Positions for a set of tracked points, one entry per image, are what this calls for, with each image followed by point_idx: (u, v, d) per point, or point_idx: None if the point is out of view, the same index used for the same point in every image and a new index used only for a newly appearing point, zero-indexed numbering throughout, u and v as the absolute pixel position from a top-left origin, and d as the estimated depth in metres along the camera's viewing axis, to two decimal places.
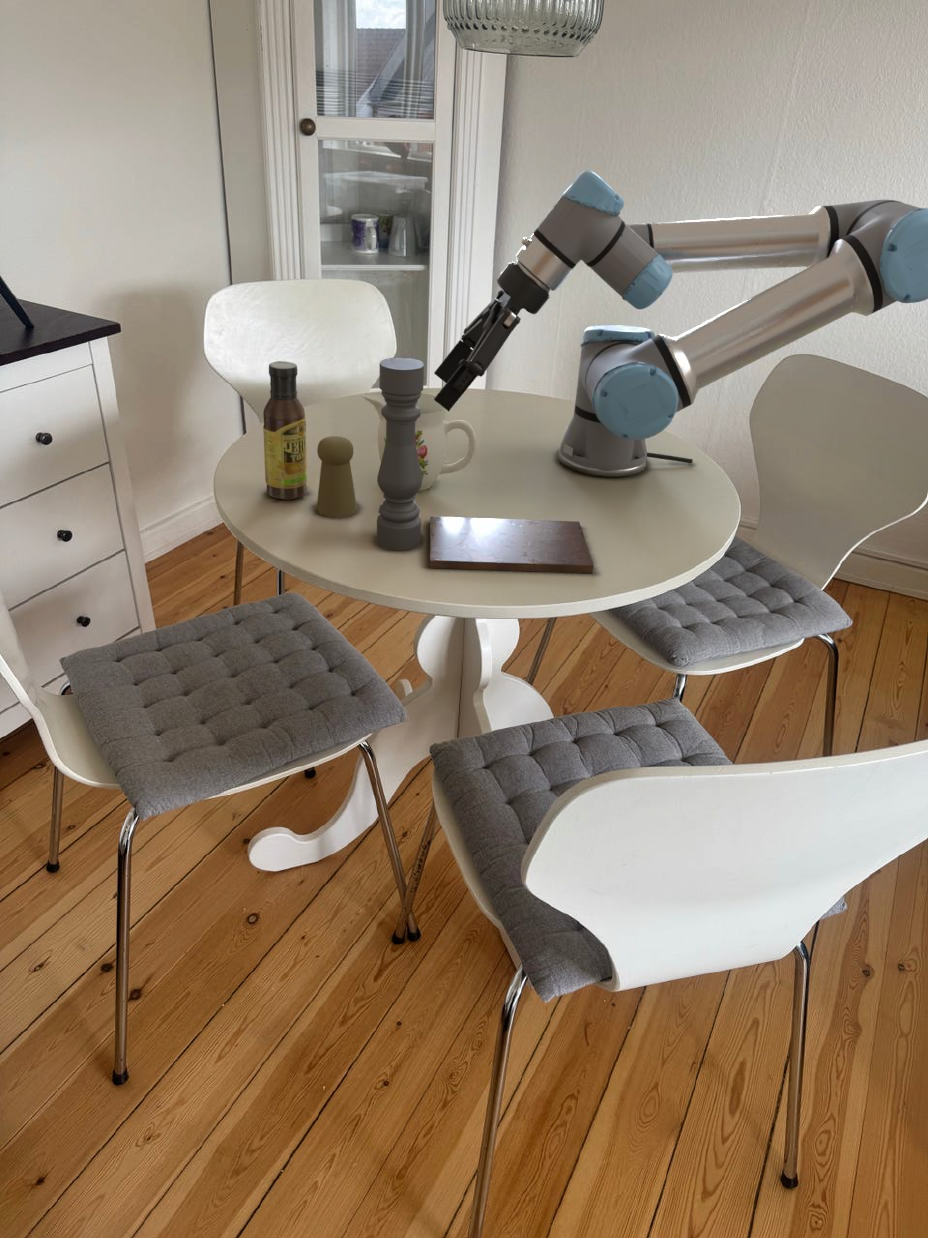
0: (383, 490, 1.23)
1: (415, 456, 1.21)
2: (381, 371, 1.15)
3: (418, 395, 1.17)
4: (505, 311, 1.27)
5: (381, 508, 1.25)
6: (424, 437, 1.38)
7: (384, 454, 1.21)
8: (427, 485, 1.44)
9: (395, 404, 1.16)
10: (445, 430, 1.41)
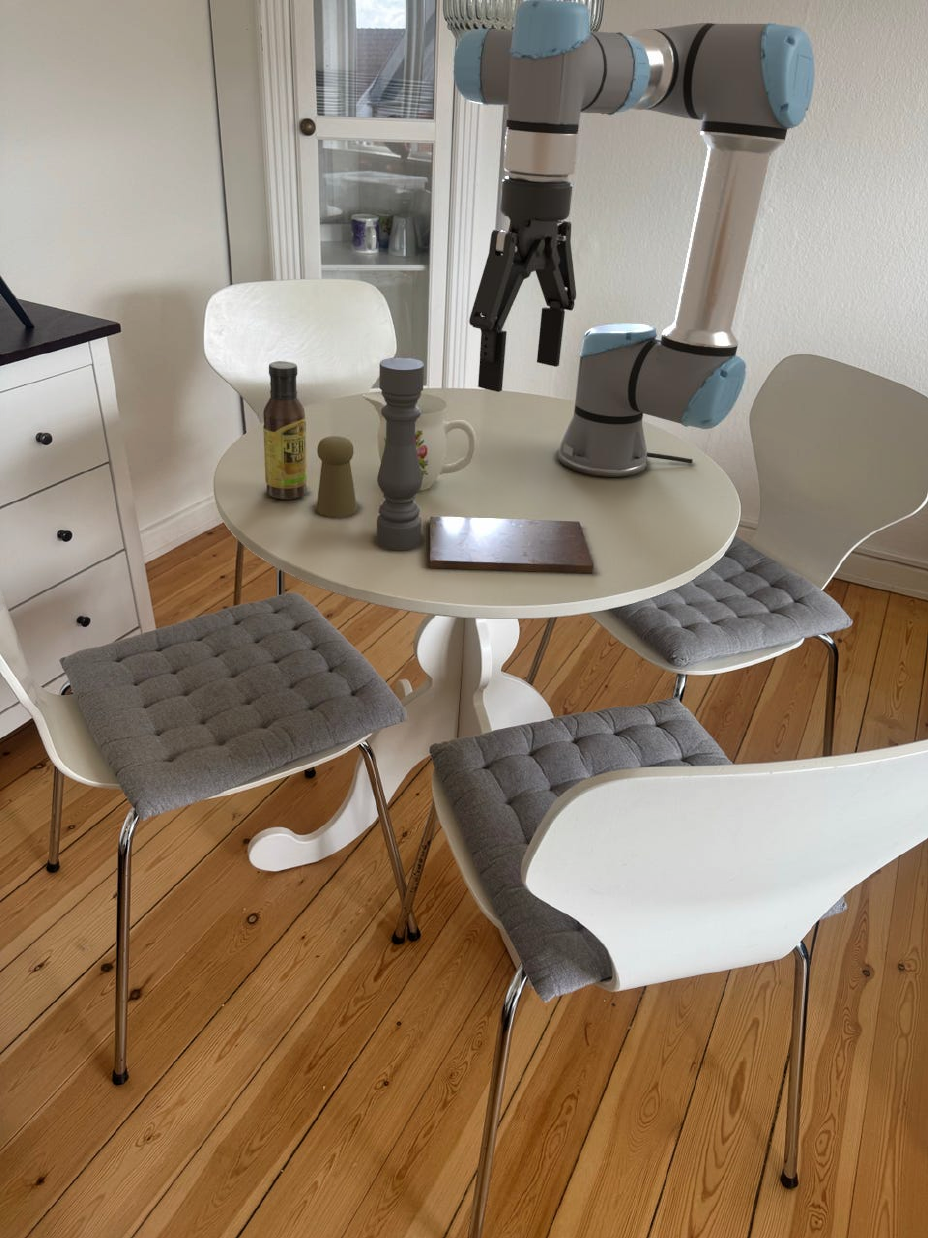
0: (383, 490, 1.23)
1: (415, 456, 1.21)
2: (381, 371, 1.15)
3: (418, 395, 1.17)
4: None
5: (381, 508, 1.25)
6: (424, 437, 1.38)
7: (384, 454, 1.21)
8: (427, 485, 1.44)
9: (394, 404, 1.16)
10: (445, 430, 1.41)
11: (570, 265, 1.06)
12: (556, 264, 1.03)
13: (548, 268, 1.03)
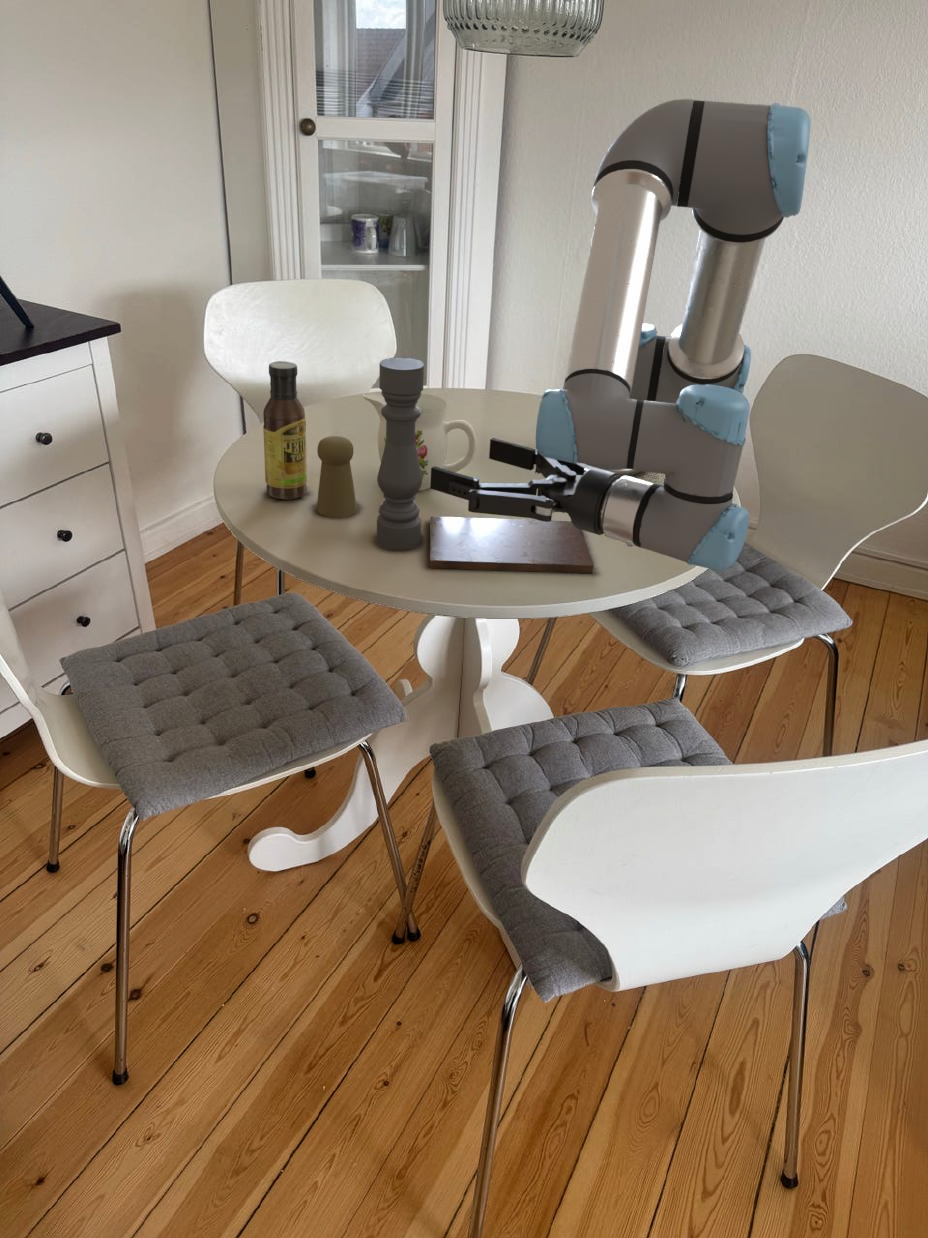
0: (383, 490, 1.23)
1: (415, 456, 1.21)
2: (381, 371, 1.15)
3: (418, 395, 1.17)
4: None
5: (381, 508, 1.25)
6: (424, 437, 1.38)
7: (384, 454, 1.21)
8: (427, 485, 1.44)
9: (394, 404, 1.17)
10: (445, 430, 1.41)
11: (510, 494, 1.06)
12: (535, 480, 1.08)
13: None
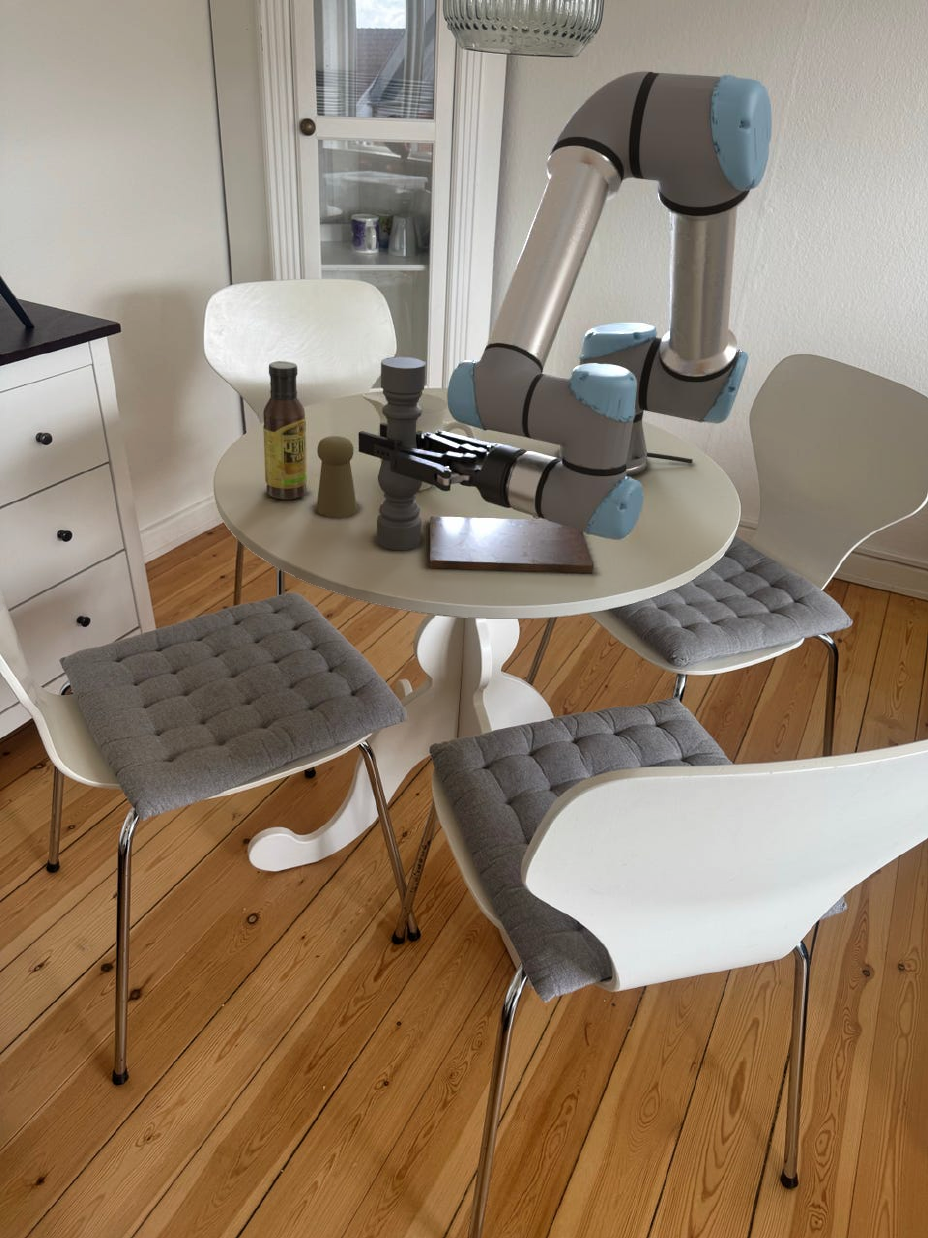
0: (383, 489, 1.23)
1: None
2: (382, 370, 1.15)
3: (419, 394, 1.17)
4: None
5: (381, 507, 1.25)
6: None
7: None
8: (427, 485, 1.44)
9: (396, 403, 1.17)
10: (445, 430, 1.41)
11: (421, 460, 1.14)
12: (449, 452, 1.16)
13: None
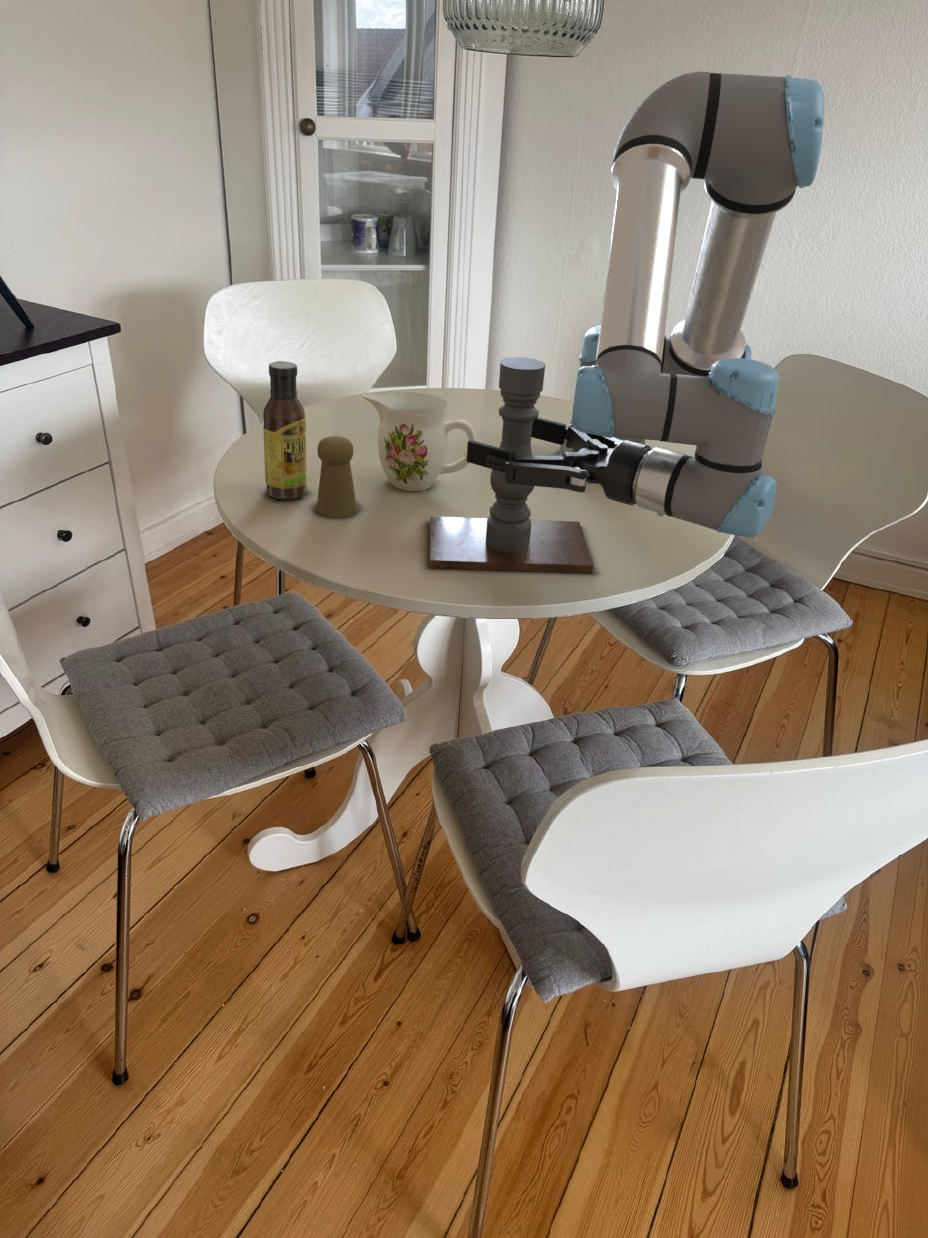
0: (497, 491, 1.21)
1: None
2: (502, 371, 1.14)
3: (538, 395, 1.15)
4: None
5: (492, 509, 1.24)
6: (424, 437, 1.38)
7: None
8: (427, 485, 1.44)
9: (515, 405, 1.15)
10: (445, 430, 1.41)
11: (546, 466, 1.10)
12: (569, 453, 1.13)
13: None
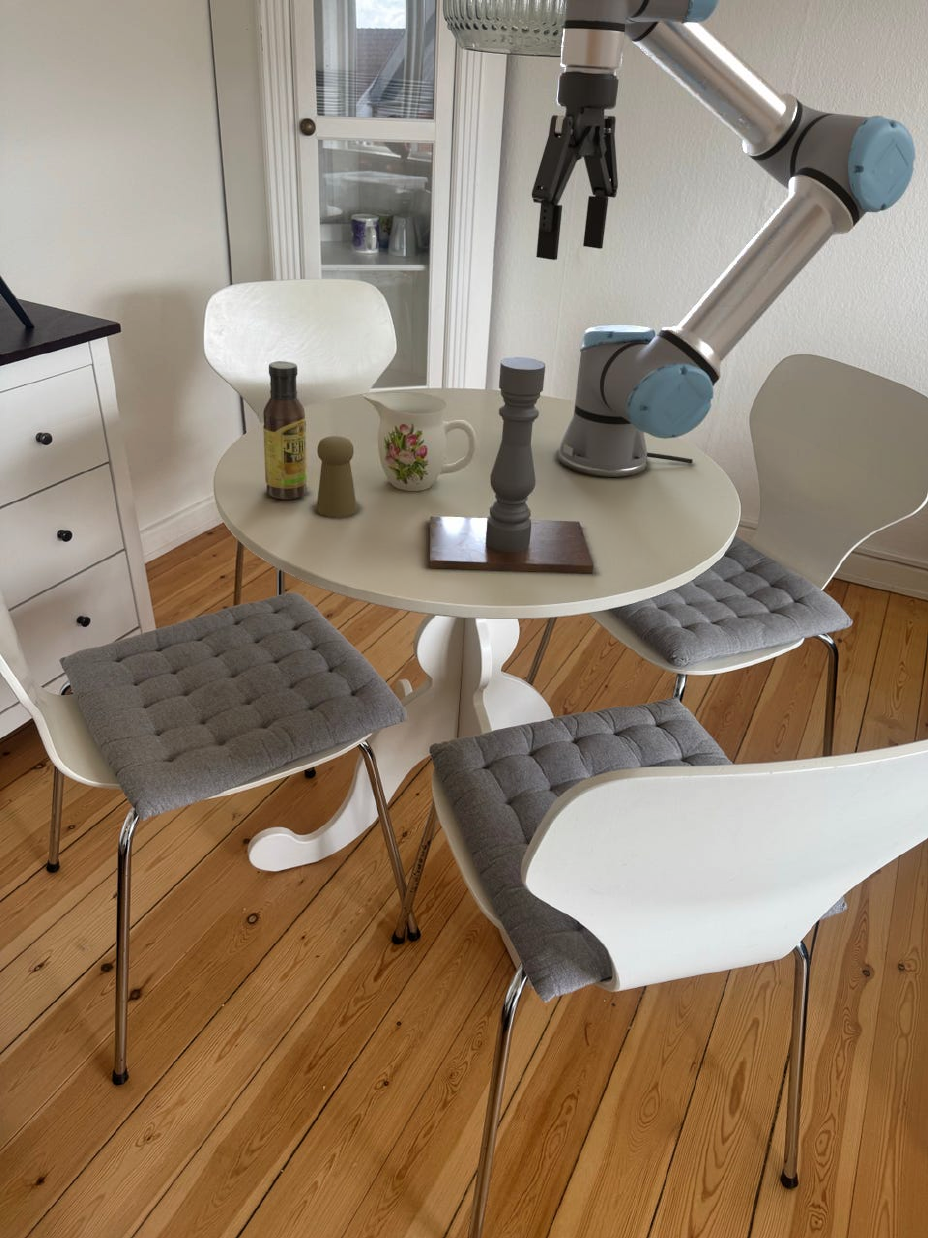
0: (497, 491, 1.21)
1: (531, 457, 1.20)
2: (503, 371, 1.14)
3: (538, 395, 1.15)
4: None
5: (492, 509, 1.24)
6: (424, 437, 1.38)
7: (499, 455, 1.20)
8: (427, 485, 1.44)
9: (515, 405, 1.15)
10: (445, 430, 1.41)
11: (613, 156, 1.24)
12: (603, 152, 1.20)
13: (596, 156, 1.21)
